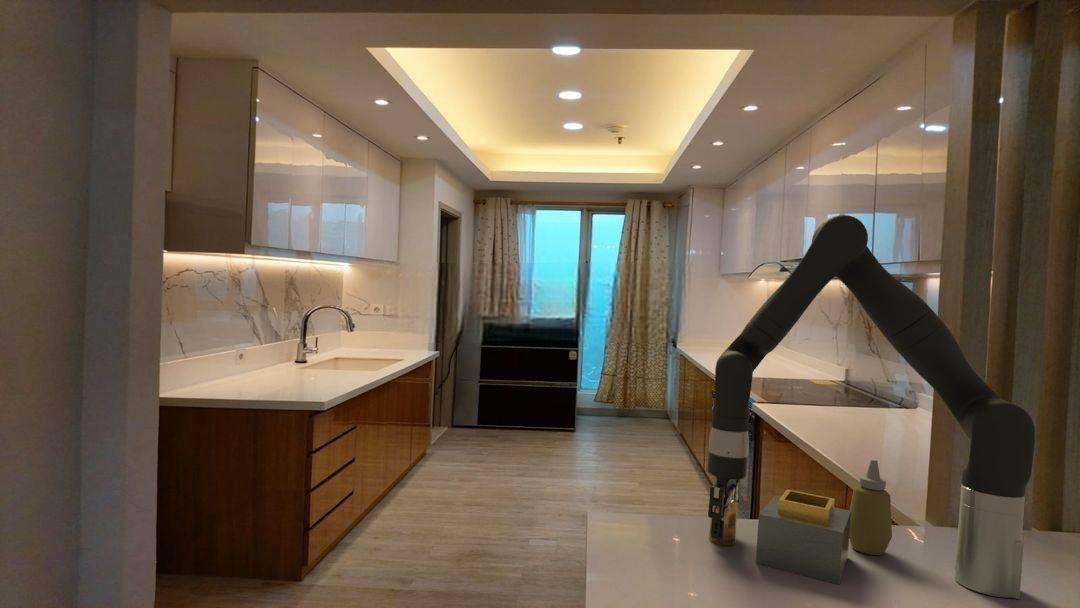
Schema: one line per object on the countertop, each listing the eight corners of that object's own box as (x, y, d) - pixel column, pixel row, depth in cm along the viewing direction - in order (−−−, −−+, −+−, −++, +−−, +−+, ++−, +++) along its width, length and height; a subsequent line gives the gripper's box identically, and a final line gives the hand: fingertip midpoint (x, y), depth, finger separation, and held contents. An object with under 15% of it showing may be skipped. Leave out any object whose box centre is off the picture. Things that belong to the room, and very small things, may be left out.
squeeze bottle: (880, 544, 132) (886, 457, 131) (898, 560, 123) (904, 467, 123) (839, 540, 132) (845, 453, 132) (854, 556, 124) (861, 463, 124)
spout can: (737, 540, 129) (741, 490, 129) (731, 548, 124) (735, 496, 124) (712, 534, 131) (716, 485, 131) (705, 541, 127) (709, 491, 127)
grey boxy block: (847, 557, 123) (851, 497, 123) (839, 584, 110) (843, 518, 110) (771, 539, 131) (775, 483, 130) (755, 562, 118) (759, 500, 118)
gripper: (738, 461, 120) (732, 548, 120) (755, 448, 132) (750, 527, 132) (699, 454, 123) (693, 538, 124) (718, 442, 136) (713, 518, 136)
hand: (722, 532), depth 128 cm, fingers open, 8 cm apart
